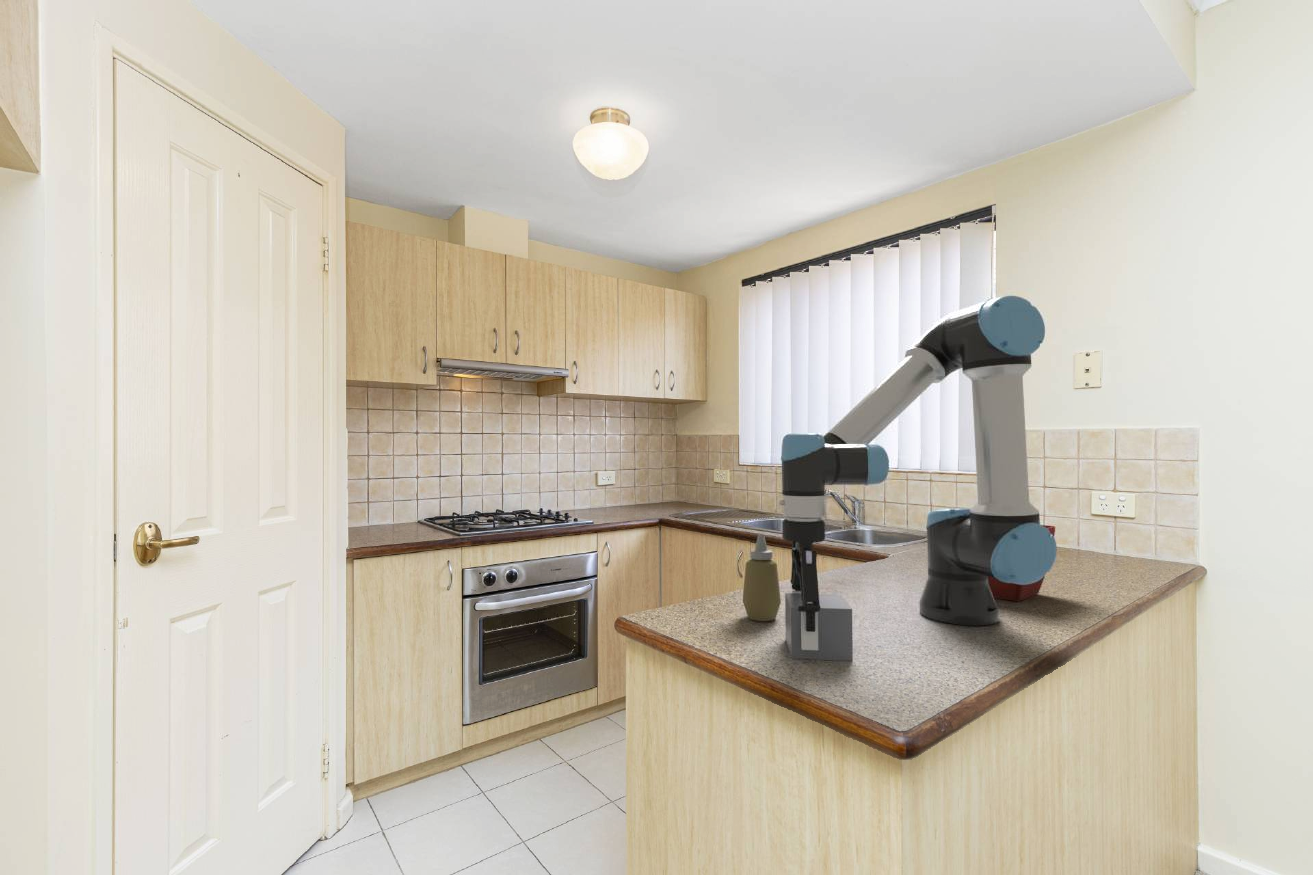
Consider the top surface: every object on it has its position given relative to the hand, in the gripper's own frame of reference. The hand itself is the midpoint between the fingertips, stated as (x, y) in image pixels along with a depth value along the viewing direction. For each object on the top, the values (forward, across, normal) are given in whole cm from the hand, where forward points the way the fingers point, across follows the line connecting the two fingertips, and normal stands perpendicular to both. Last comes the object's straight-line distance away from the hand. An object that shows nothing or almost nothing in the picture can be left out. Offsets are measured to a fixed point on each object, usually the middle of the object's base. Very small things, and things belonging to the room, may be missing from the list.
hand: (804, 636), depth 107 cm
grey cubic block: (+2, 0, +2) cm, 3 cm away
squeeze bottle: (+2, -19, -6) cm, 20 cm away
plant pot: (+2, -47, +54) cm, 71 cm away
